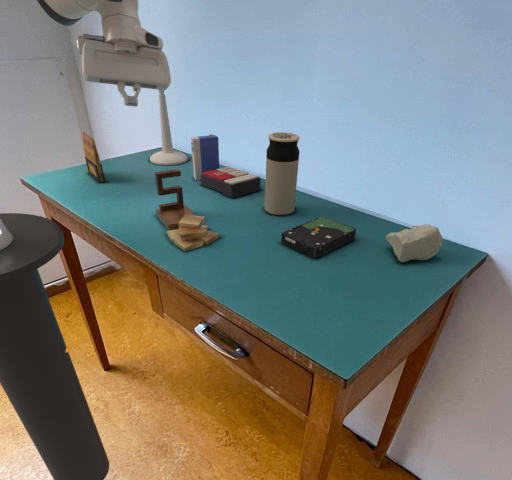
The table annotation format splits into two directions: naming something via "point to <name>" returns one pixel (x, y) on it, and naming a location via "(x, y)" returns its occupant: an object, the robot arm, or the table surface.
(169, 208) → the letter S
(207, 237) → the tile pile
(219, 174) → the calculator
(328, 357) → the table surface
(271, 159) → the travel mug
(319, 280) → the table surface
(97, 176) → the ammunition clip
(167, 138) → the candlestick
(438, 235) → the decorative stone
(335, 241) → the disk drive
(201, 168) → the walkman
